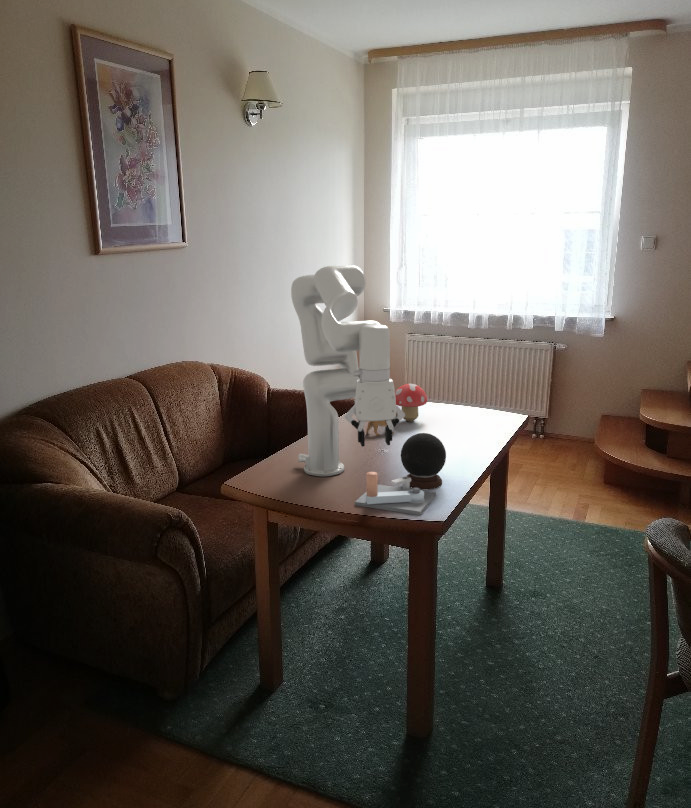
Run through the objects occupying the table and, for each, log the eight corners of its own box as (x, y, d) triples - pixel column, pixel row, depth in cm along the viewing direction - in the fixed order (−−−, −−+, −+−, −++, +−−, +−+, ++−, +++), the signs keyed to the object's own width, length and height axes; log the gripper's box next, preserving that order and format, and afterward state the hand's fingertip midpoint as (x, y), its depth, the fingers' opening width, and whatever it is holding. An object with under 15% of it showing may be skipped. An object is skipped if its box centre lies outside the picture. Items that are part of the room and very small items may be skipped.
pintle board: (436, 495, 189) (436, 479, 188) (420, 515, 176) (420, 498, 175) (374, 487, 197) (374, 471, 195) (355, 505, 184) (354, 488, 183)
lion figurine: (392, 428, 256) (392, 405, 253) (401, 431, 251) (401, 408, 249) (361, 435, 247) (361, 411, 245) (370, 438, 243) (370, 414, 241)
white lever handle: (422, 495, 186) (422, 468, 184) (425, 501, 182) (426, 473, 180) (365, 499, 184) (365, 471, 182) (367, 505, 180) (367, 476, 178)
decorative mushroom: (428, 426, 258) (429, 387, 254) (393, 426, 258) (393, 388, 255) (425, 416, 271) (425, 380, 267) (391, 417, 271) (391, 380, 268)
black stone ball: (416, 472, 209) (417, 425, 205) (453, 481, 200) (455, 432, 197) (391, 484, 199) (391, 435, 195) (429, 494, 191) (430, 443, 187)
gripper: (341, 379, 163) (342, 450, 168) (411, 376, 165) (411, 447, 170) (338, 373, 171) (339, 441, 175) (405, 370, 172) (405, 438, 177)
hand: (375, 443), depth 172 cm, fingers open, 5 cm apart
